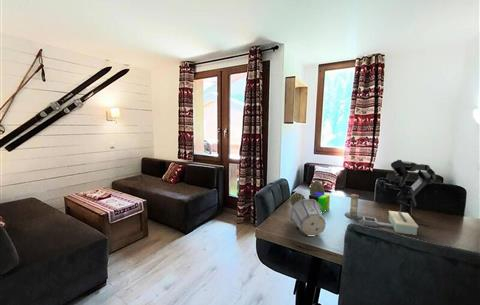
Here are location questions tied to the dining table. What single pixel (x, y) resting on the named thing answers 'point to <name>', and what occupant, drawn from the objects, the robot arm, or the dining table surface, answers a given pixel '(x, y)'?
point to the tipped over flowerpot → (307, 215)
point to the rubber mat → (353, 216)
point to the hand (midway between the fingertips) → (388, 198)
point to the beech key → (354, 205)
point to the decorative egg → (316, 188)
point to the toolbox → (395, 222)
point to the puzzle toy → (321, 200)
